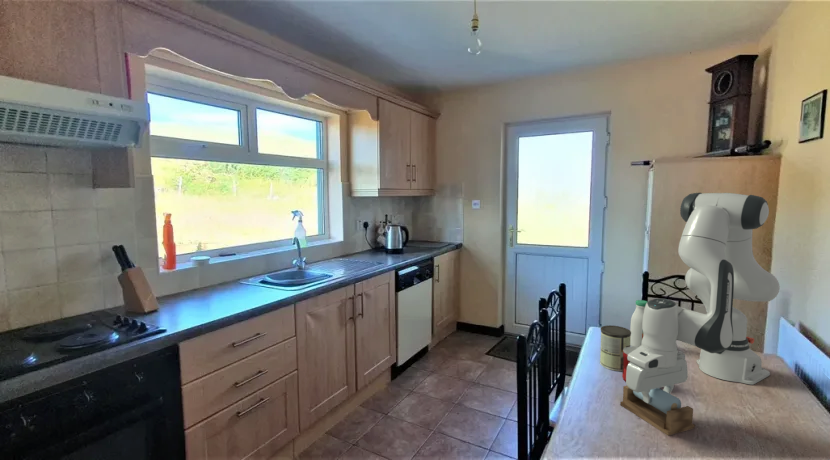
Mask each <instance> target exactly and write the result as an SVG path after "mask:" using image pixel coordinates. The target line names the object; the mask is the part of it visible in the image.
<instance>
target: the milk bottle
mask: <svg viewBox="0 0 830 460" xmlns="http://www.w3.org/2000/svg"><path fill="white" fill-rule="evenodd" d="M647 302H648V301H647V300H644V299H638V300H636V301H635V310H634V312H633V313H632V315H631V318H630V327H629V328H630V329H629V330H630V331H631V340H630V347H636V348H638V347H639V346H641V344H642V339H643V330H642V322H643V314H644V309H645V306H646V303H647Z"/></svg>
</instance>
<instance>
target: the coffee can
mask: <svg viewBox="0 0 830 460" xmlns="http://www.w3.org/2000/svg"><path fill="white" fill-rule="evenodd" d="M630 340H631V331H630V329H628V328H626V327H623V326H619V325H604V326H600V351H599V352H600V359H599V364H600V365H601V366H602V367H603V368H604V369H607V370H610V371H614V372H622V371H623V349H624V348H626V347H631V345H630Z"/></svg>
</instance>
